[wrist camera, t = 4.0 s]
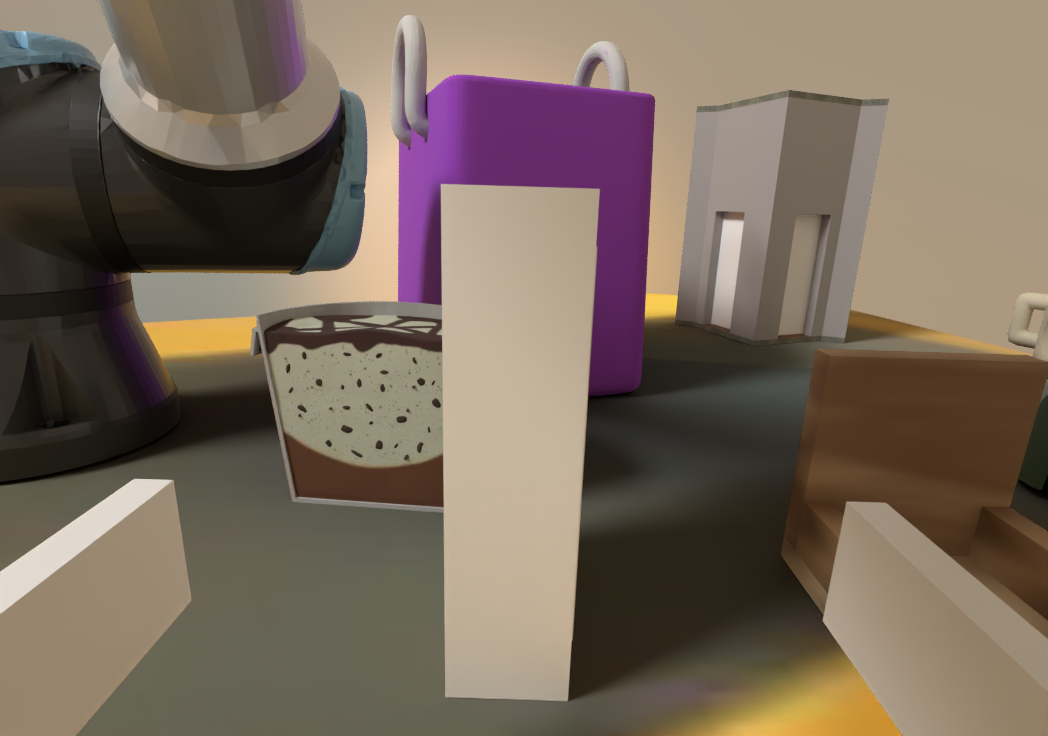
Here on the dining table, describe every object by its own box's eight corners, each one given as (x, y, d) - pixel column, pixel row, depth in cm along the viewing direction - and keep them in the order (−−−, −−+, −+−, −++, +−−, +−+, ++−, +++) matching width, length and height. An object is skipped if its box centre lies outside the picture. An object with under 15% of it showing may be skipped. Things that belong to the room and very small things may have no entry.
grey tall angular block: (843, 340, 74) (887, 101, 66) (847, 357, 65) (898, 84, 58) (677, 322, 82) (699, 108, 75) (661, 334, 74) (684, 95, 66)
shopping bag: (355, 344, 64) (339, 44, 56) (523, 328, 75) (530, 74, 67) (465, 429, 41) (466, -60, 33) (684, 388, 52) (725, 13, 44)
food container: (508, 465, 36) (511, 304, 33) (493, 516, 30) (496, 326, 27) (315, 452, 37) (303, 295, 34) (265, 499, 31) (245, 314, 28)
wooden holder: (780, 555, 27) (815, 348, 25) (970, 561, 27) (1026, 355, 25) (1031, 907, 14) (1174, 530, 11) (1412, 920, 14) (1650, 545, 11)
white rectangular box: (466, 554, 27) (468, 190, 22) (560, 557, 27) (579, 194, 22) (441, 696, 19) (434, 183, 15) (572, 701, 19) (605, 189, 15)
